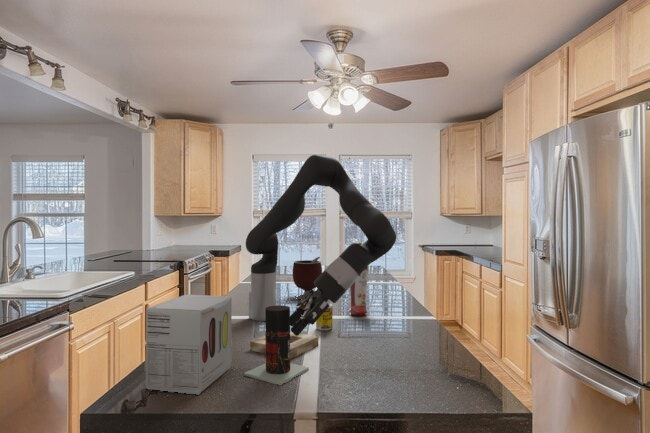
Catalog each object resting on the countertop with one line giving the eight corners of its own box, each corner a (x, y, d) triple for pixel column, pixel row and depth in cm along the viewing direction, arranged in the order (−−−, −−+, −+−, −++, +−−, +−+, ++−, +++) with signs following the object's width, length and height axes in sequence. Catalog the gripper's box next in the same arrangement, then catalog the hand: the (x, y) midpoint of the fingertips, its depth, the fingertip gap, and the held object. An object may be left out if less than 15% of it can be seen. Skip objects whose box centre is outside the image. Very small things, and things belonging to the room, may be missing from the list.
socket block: (250, 350, 114) (250, 341, 114) (281, 337, 126) (281, 329, 126) (289, 359, 107) (289, 349, 107) (318, 345, 119) (318, 336, 119)
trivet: (244, 375, 96) (244, 372, 96) (273, 361, 105) (273, 359, 105) (280, 385, 90) (280, 382, 90) (308, 369, 100) (308, 367, 100)
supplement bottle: (321, 331, 133) (321, 300, 133) (313, 328, 137) (313, 298, 137) (335, 329, 136) (335, 299, 136) (326, 325, 141) (326, 296, 141)
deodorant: (266, 365, 101) (265, 305, 101) (290, 364, 101) (289, 305, 101) (265, 374, 95) (264, 311, 95) (290, 373, 95) (290, 310, 95)
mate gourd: (286, 297, 190) (286, 255, 190) (309, 294, 199) (308, 253, 199) (307, 303, 178) (307, 257, 178) (330, 298, 188) (330, 255, 188)
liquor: (358, 318, 150) (358, 243, 151) (344, 315, 156) (344, 242, 156) (371, 315, 155) (371, 242, 155) (358, 312, 161) (357, 241, 161)
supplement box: (200, 396, 85) (201, 310, 85) (143, 391, 87) (144, 308, 87) (233, 366, 102) (233, 295, 102) (185, 363, 104) (185, 293, 105)
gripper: (320, 266, 107) (277, 311, 105) (332, 273, 93) (283, 325, 91) (339, 285, 108) (297, 330, 106) (354, 294, 95) (306, 347, 92)
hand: (291, 328), depth 98 cm, fingers open, 8 cm apart
